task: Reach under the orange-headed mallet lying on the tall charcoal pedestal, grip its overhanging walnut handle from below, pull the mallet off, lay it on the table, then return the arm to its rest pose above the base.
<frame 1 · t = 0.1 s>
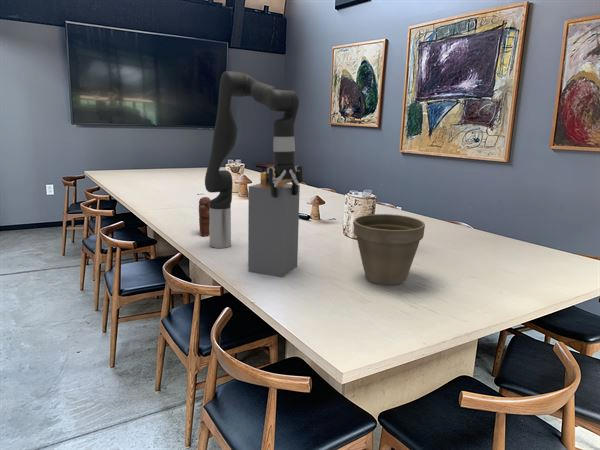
hand: (284, 196, 164), 29 cm above the table, tool pointing down, fingers open, 8 cm apart
mallet: (272, 186, 168), point 32 cm above the table, touching pedestal
pedestal: (273, 268, 177), on the table
plant pot: (384, 279, 170), on the table
wooden figurine: (206, 234, 225), on the table
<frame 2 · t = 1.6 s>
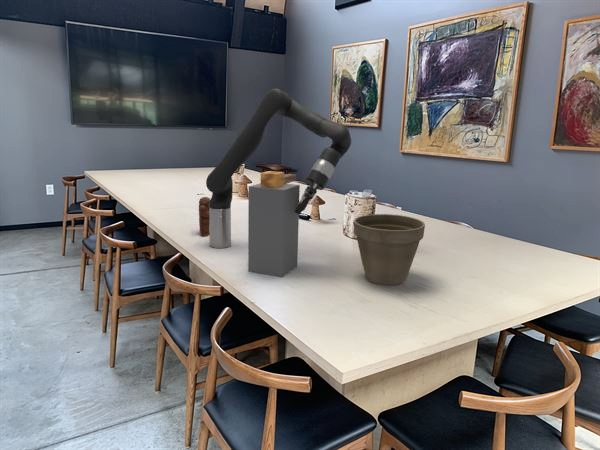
hand: (299, 211, 168), 23 cm above the table, tool tilted 35°, fingers open, 8 cm apart
nothing on the table moved.
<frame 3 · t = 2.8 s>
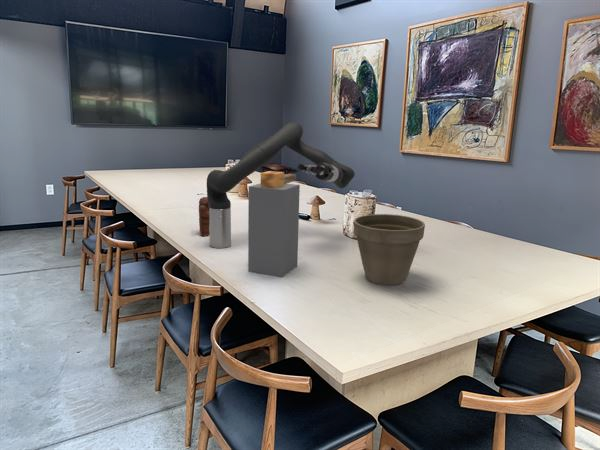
hand: (307, 167, 188), 37 cm above the table, tool horizontal, fingers open, 8 cm apart
nothing on the table moved.
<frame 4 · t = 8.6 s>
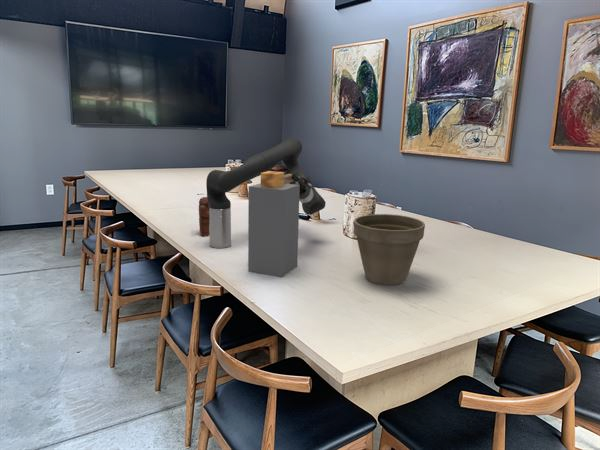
hand: (288, 174, 180), 35 cm above the table, tool pointing upward, fingers closed on mallet, 3 cm apart
mallet: (272, 186, 168), point 32 cm above the table, touching gripper, pedestal
everything else where it was.
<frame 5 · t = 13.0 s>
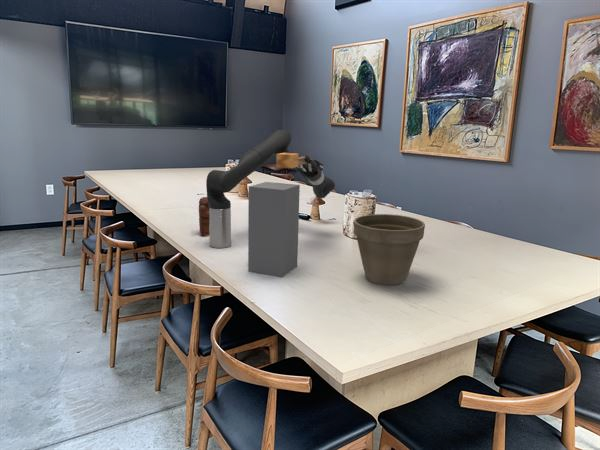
hand: (301, 157, 191), 41 cm above the table, tool pointing upward, fingers closed on mallet, 3 cm apart
mallet: (287, 166, 178), point 38 cm above the table, touching gripper
everything else where it was.
when the fingers open (13 cm above the table, at t = 17.3 s): mallet drops 3 cm, on the table.
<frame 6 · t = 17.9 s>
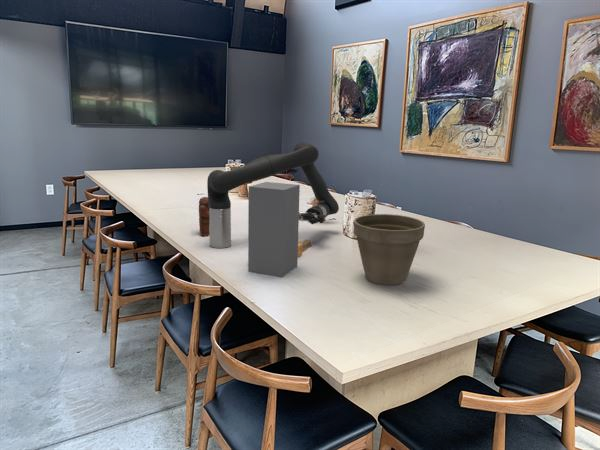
hand: (303, 220, 200), 13 cm above the table, tool horizontal, fingers open, 8 cm apart
mallet: (292, 256, 194), on the table
everything else where it was.
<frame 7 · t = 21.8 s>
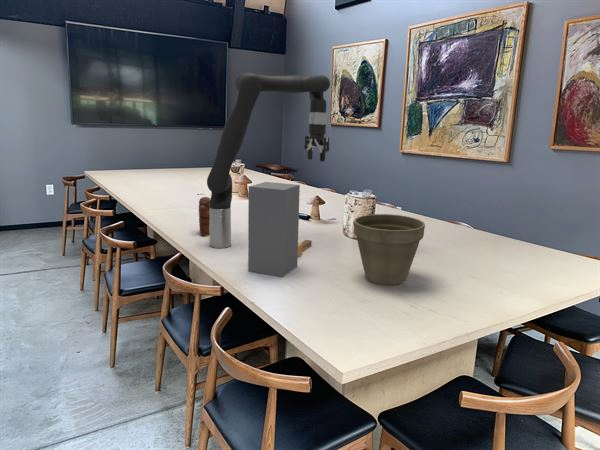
hand: (316, 160, 207), 38 cm above the table, tool pointing down, fingers open, 8 cm apart
nothing on the table moved.
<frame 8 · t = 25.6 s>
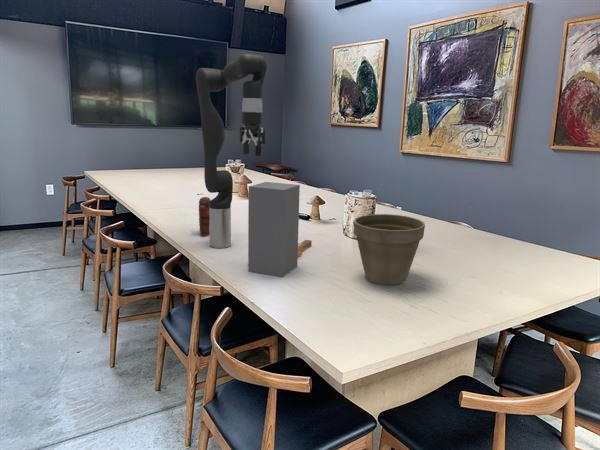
hand: (251, 154, 176), 42 cm above the table, tool pointing down, fingers open, 8 cm apart
nothing on the table moved.
at the end: mallet on the table; mallet touching table; the gripper is holding nothing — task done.
